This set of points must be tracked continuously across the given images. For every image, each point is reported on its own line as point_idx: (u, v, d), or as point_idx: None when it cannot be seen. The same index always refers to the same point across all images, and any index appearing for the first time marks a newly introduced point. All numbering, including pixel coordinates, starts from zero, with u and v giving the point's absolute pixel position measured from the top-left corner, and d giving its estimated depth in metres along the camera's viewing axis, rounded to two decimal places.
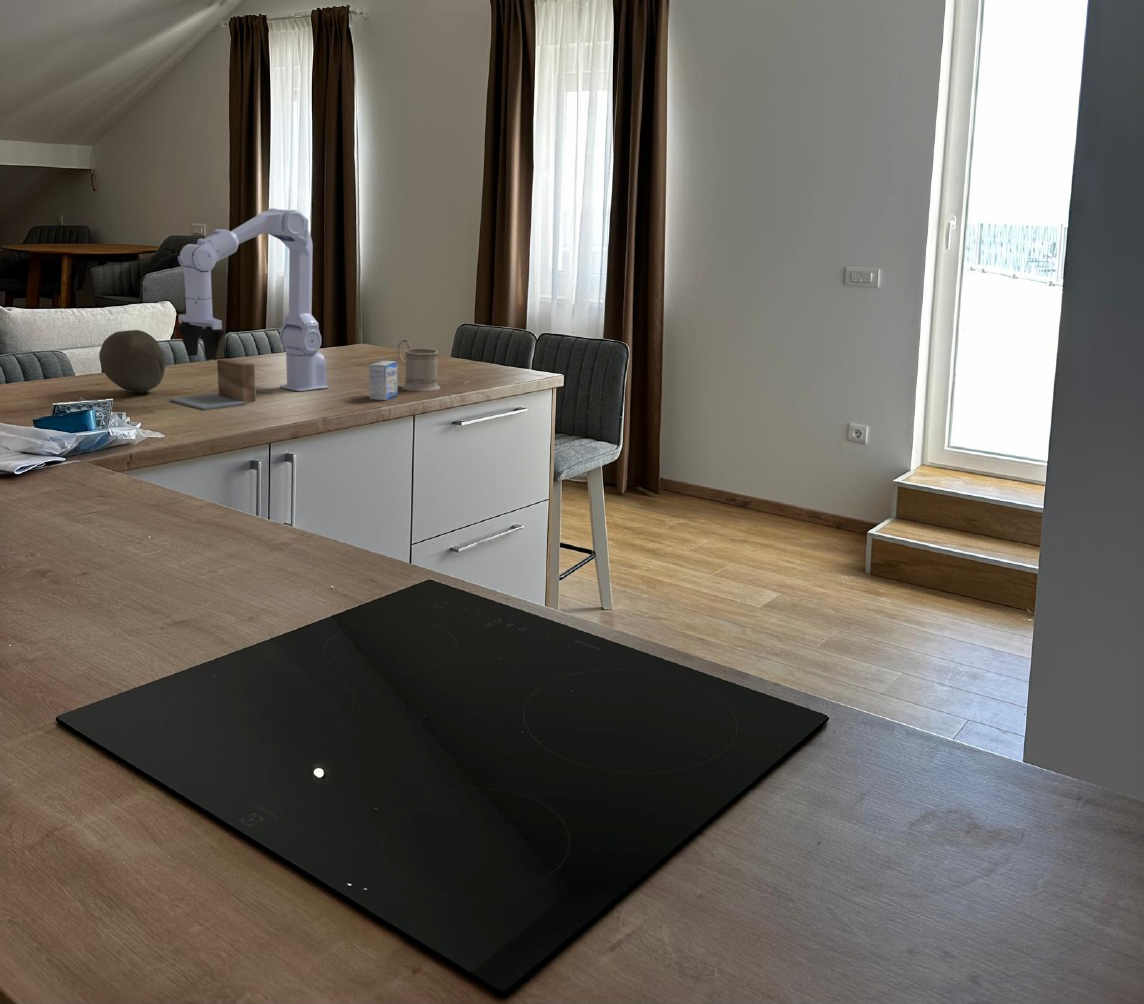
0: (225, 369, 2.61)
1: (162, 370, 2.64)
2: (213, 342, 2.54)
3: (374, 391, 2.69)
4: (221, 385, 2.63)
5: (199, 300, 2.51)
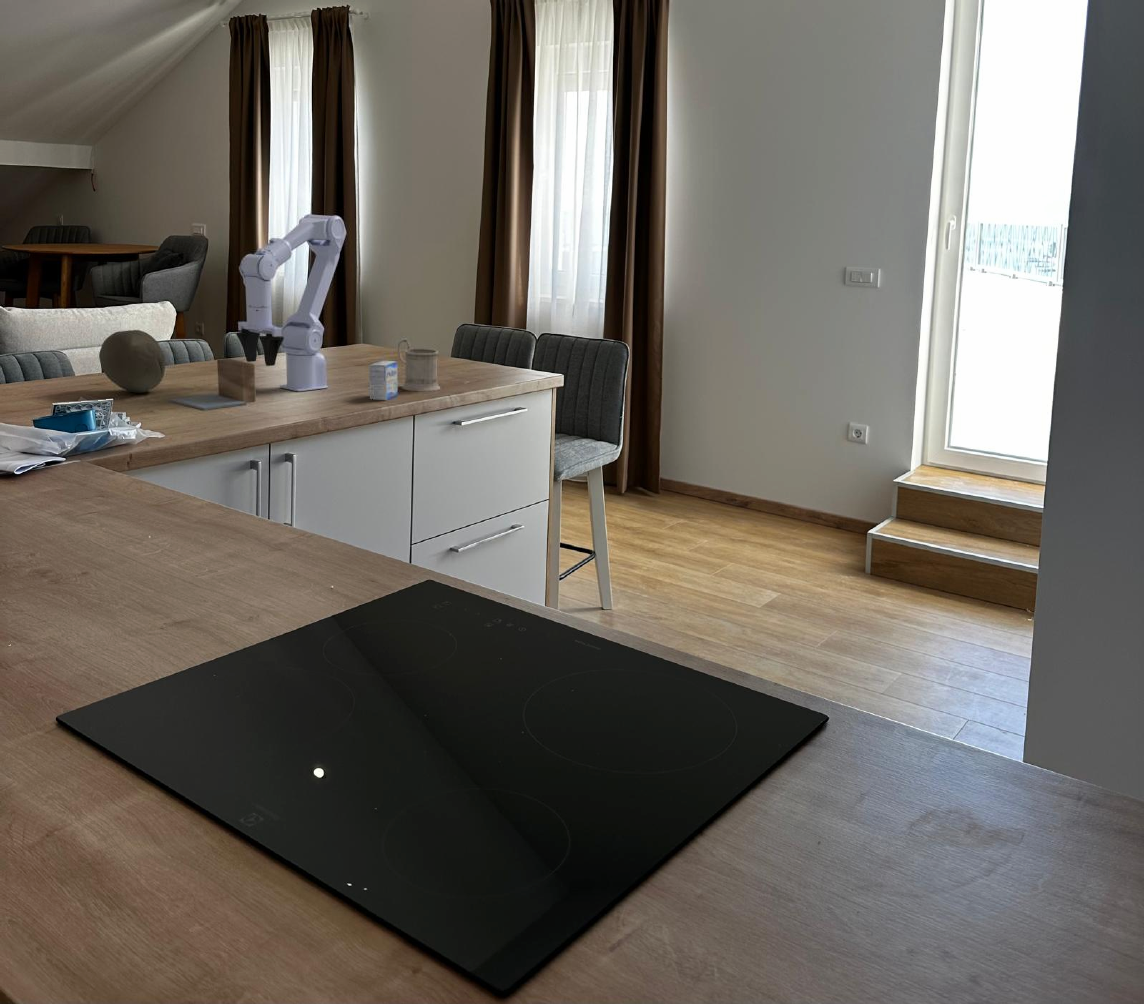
0: (225, 369, 2.61)
1: (162, 370, 2.64)
2: (272, 349, 2.63)
3: (374, 391, 2.69)
4: (221, 385, 2.63)
5: (260, 308, 2.60)
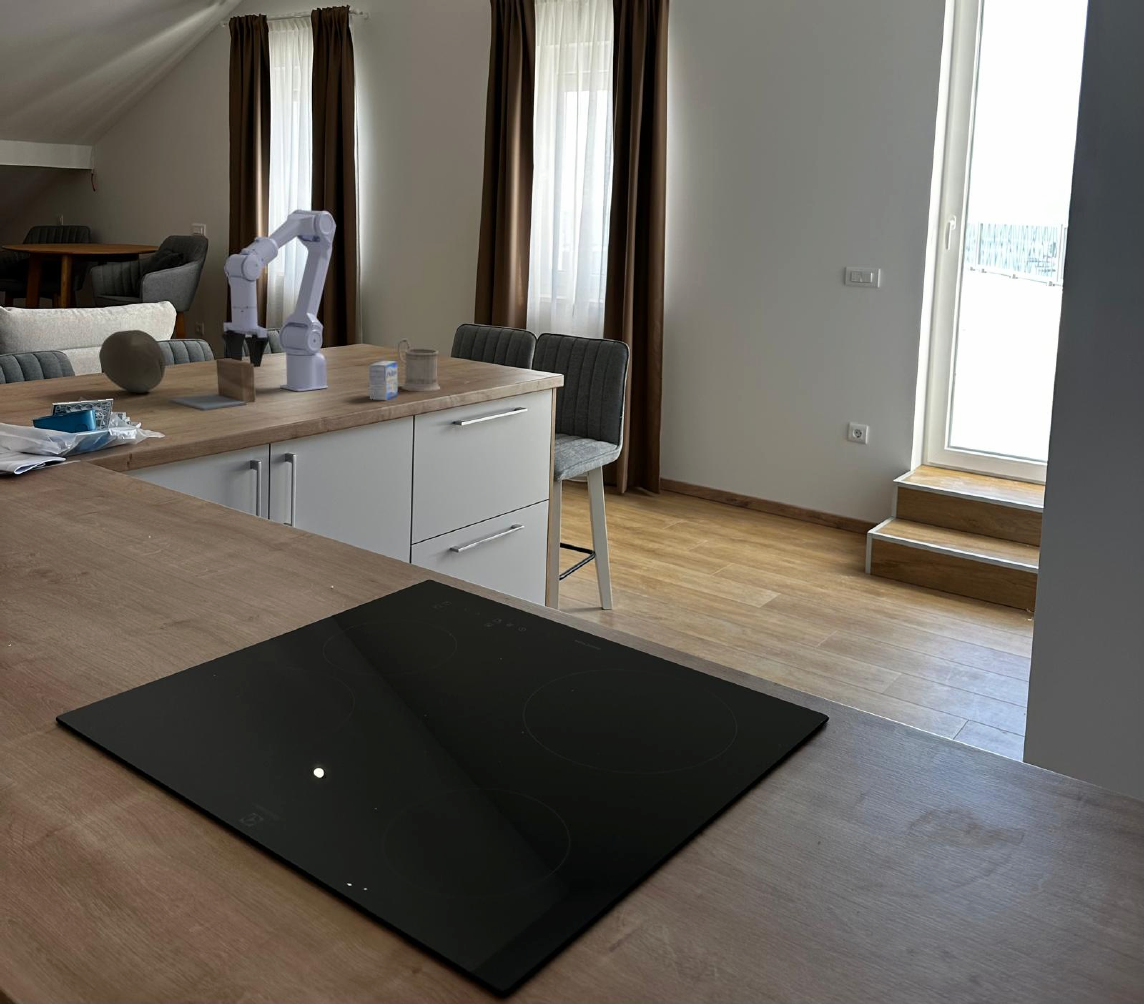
0: (224, 369, 2.61)
1: (162, 370, 2.64)
2: (258, 350, 2.60)
3: (374, 391, 2.69)
4: (220, 385, 2.63)
5: (245, 309, 2.57)
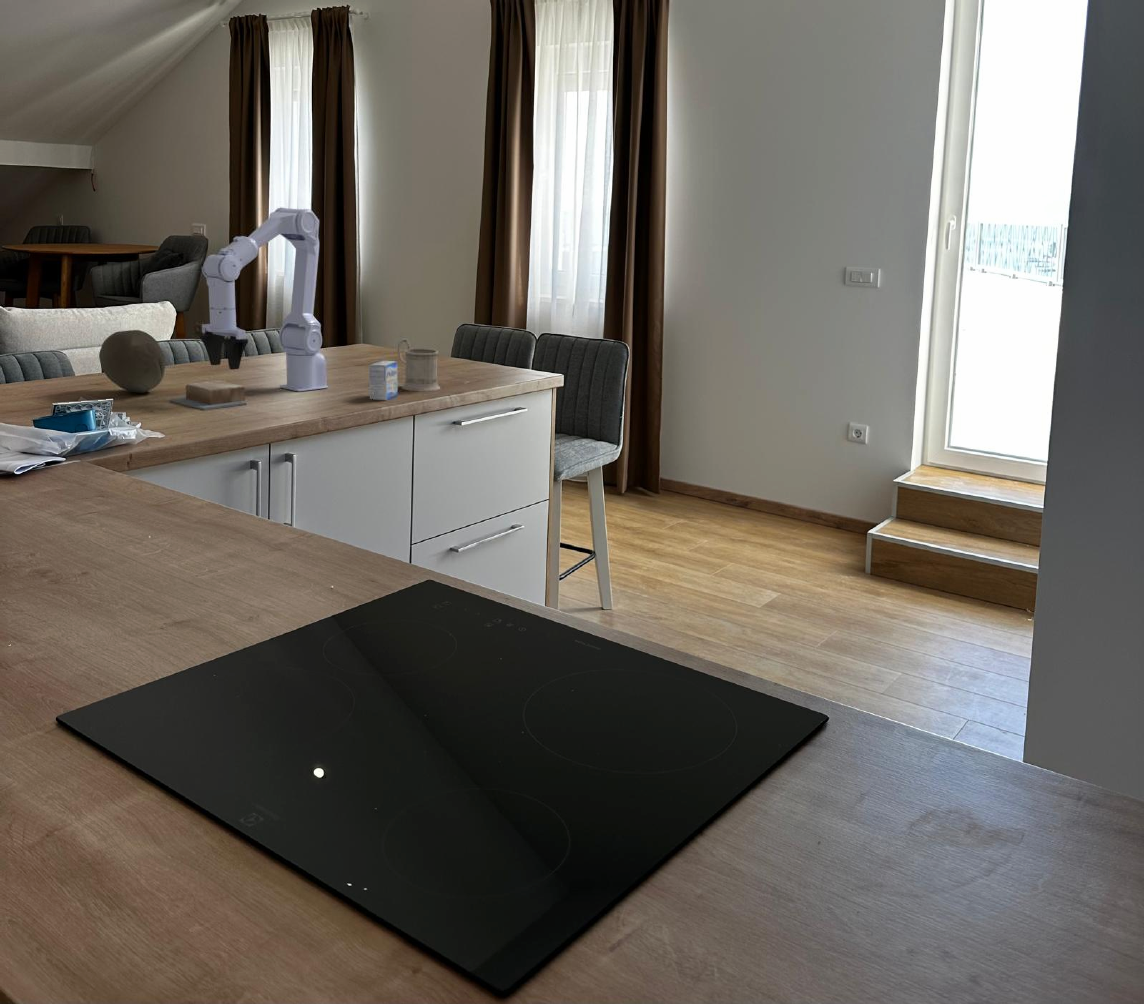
0: None
1: (162, 370, 2.64)
2: (236, 352, 2.55)
3: (374, 391, 2.69)
4: None
5: (223, 310, 2.53)
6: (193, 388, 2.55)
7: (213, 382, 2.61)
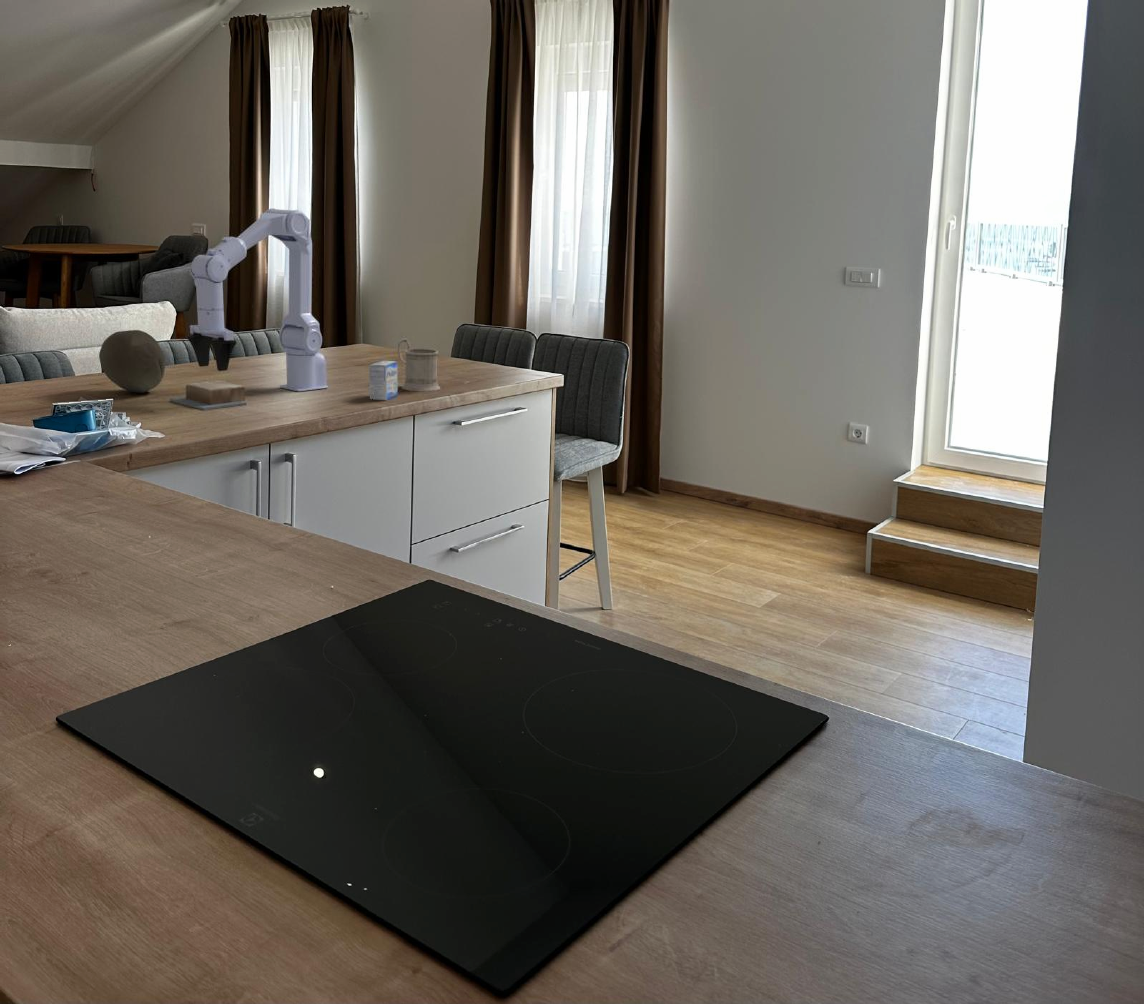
0: None
1: (162, 370, 2.64)
2: (224, 353, 2.53)
3: (374, 391, 2.69)
4: None
5: (211, 311, 2.50)
6: (193, 388, 2.55)
7: (213, 382, 2.61)
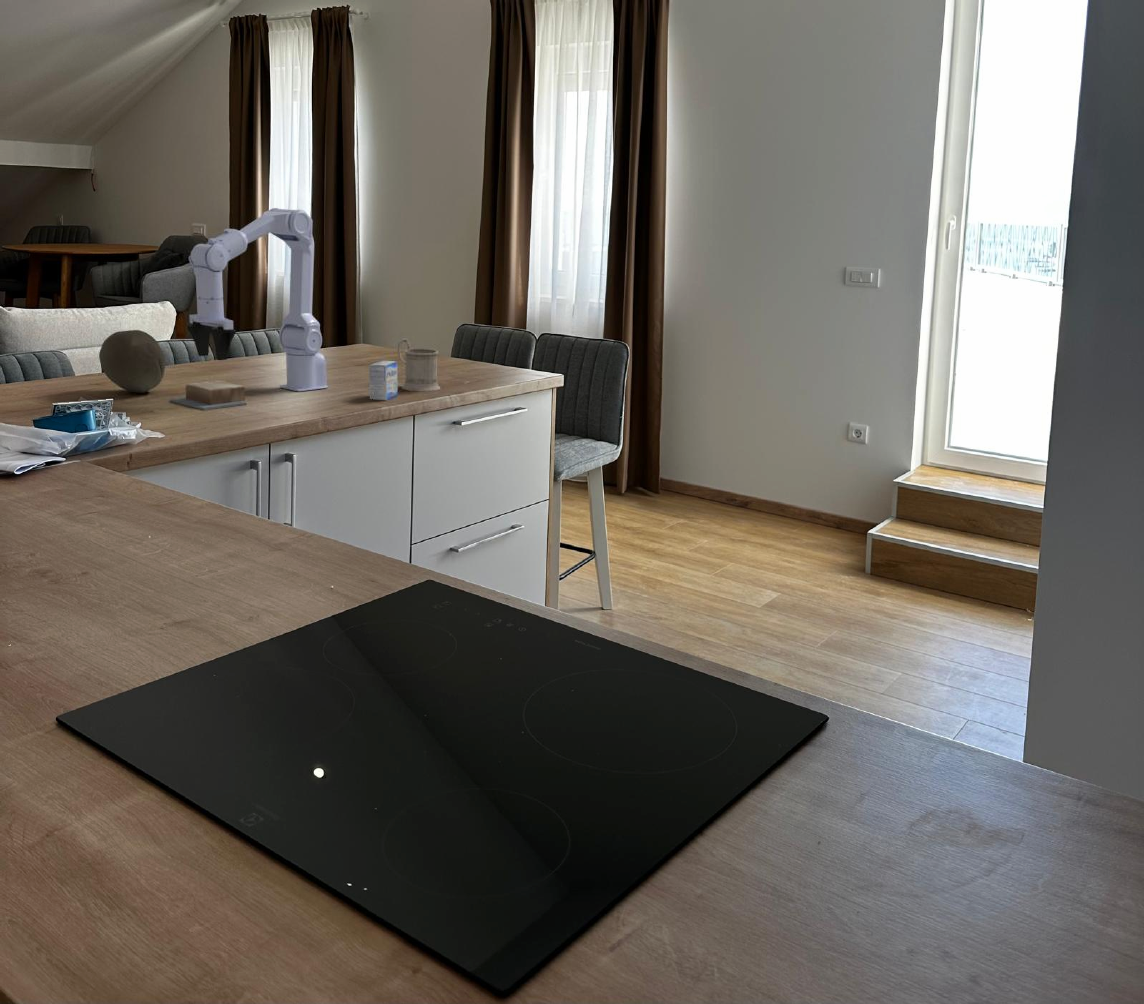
0: None
1: (162, 370, 2.64)
2: (224, 343, 2.52)
3: (374, 391, 2.69)
4: None
5: (210, 300, 2.50)
6: (193, 388, 2.55)
7: (213, 382, 2.61)
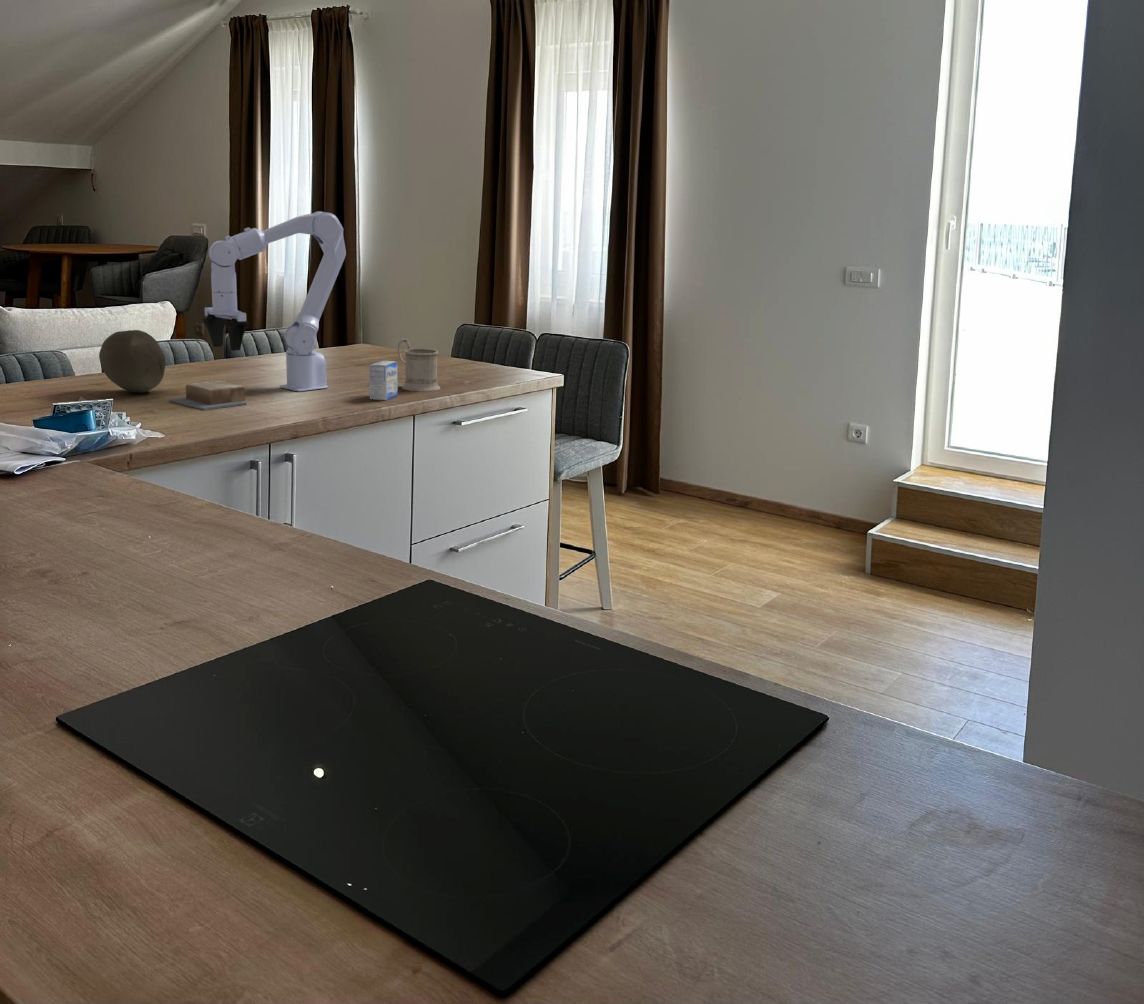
0: None
1: (162, 370, 2.64)
2: (237, 334, 2.67)
3: (374, 391, 2.69)
4: None
5: (225, 294, 2.65)
6: (193, 388, 2.55)
7: (213, 382, 2.61)
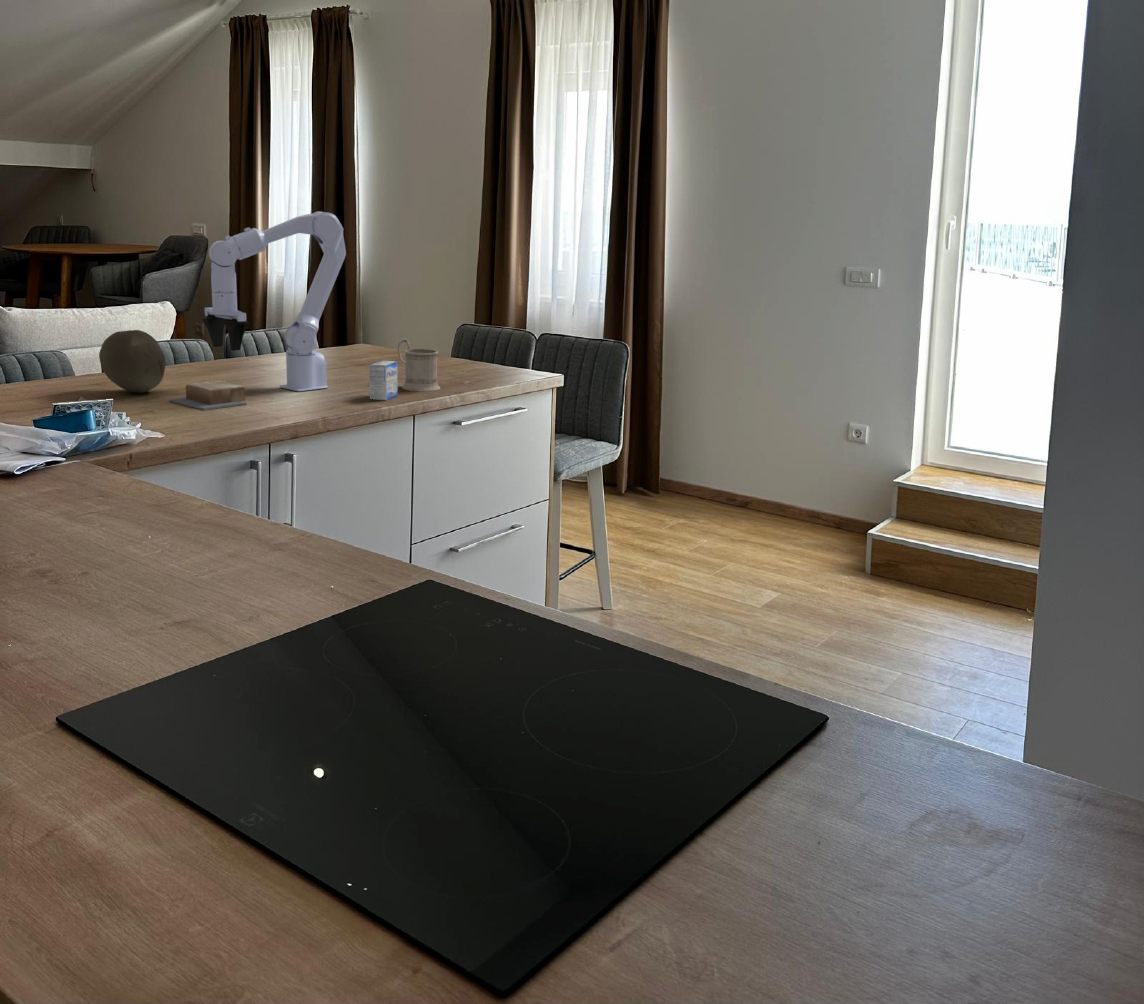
0: None
1: (162, 370, 2.64)
2: (237, 334, 2.67)
3: (374, 391, 2.69)
4: None
5: (225, 294, 2.65)
6: (193, 388, 2.55)
7: (213, 382, 2.61)
